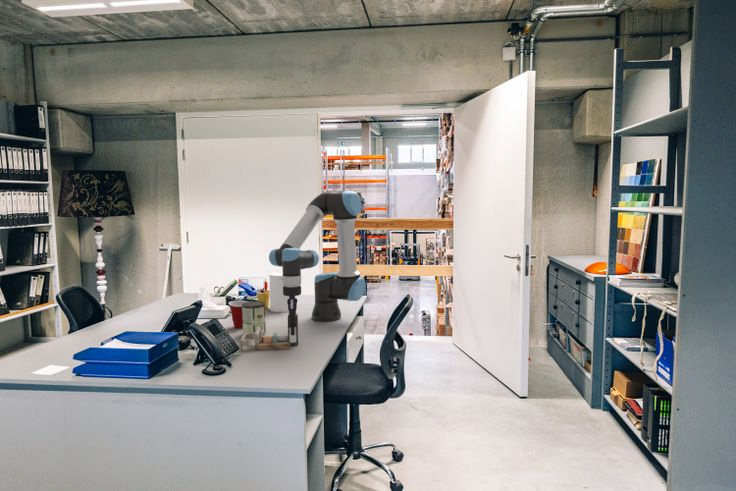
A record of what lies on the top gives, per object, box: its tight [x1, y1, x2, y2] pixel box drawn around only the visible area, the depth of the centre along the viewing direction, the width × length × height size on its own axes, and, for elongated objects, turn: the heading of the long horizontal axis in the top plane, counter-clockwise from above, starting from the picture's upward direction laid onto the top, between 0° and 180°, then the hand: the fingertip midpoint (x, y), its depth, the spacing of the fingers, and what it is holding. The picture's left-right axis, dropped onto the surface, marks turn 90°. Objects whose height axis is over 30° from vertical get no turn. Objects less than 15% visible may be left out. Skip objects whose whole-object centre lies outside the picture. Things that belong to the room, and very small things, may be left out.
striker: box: [272, 313, 299, 346], centre depth 198 cm, size 10×4×12 cm, turn 96°
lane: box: [239, 327, 292, 351], centre depth 197 cm, size 20×12×6 cm, turn 96°
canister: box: [268, 271, 289, 313], centre depth 263 cm, size 14×14×20 cm
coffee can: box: [242, 300, 267, 337], centre depth 214 cm, size 10×10×14 cm
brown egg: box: [262, 335, 273, 344], centre depth 197 cm, size 4×4×4 cm
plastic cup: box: [228, 300, 249, 330], centre depth 226 cm, size 11×11×12 cm
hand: (293, 340), depth 199 cm, fingers closed on striker, 4 cm apart
